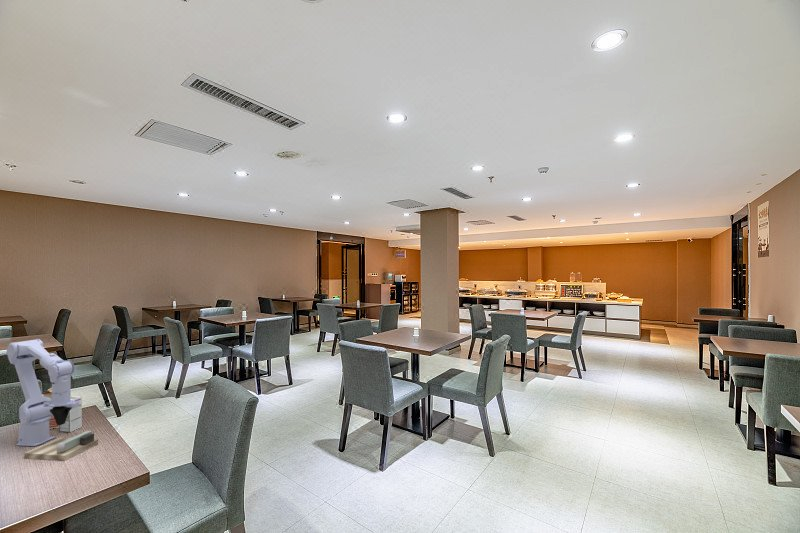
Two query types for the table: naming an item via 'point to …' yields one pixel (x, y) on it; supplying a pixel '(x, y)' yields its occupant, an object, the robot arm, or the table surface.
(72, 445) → the stool leg
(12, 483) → the table surface
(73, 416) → the syrup box
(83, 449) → the stool seat
